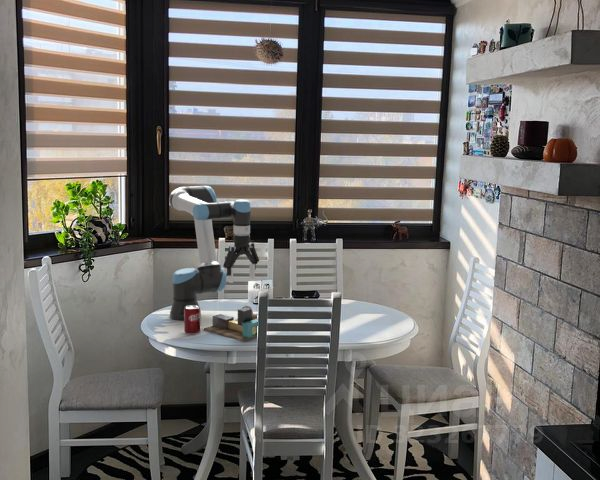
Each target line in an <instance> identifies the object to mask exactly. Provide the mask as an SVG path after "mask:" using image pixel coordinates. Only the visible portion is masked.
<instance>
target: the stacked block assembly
mask: <svg viewBox="0 0 600 480" xmlns="http://www.w3.org/2000/svg"><path fill="white" fill-rule="evenodd" d="M234 318H235V317H233V316H230V315H227V314H226V315H225V314H223V313H219V314H216V315H215V314H214V315H212V319H211V320H212V326H213V327H216V328H220V329H223V330H228V329H230V328H227V322H226V320H230V319H231V320H235V319H234ZM255 326H258V319H255V320H251V321H248V322H244V323H242V337H244V338H247V339H249V338H252V337H255V336H257V333H256V334H252V327H255Z"/></svg>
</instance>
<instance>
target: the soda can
mask: <svg viewBox="0 0 600 480" xmlns="http://www.w3.org/2000/svg"><path fill="white" fill-rule="evenodd" d="M200 311H201V307H200V305H199V306H196V305H189V306H185V308H184V320H183V323H184V326H183V327H184V329H183V330H184V333H185V334H186V335H197V334H199V333H200V332H201V316H200Z"/></svg>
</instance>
